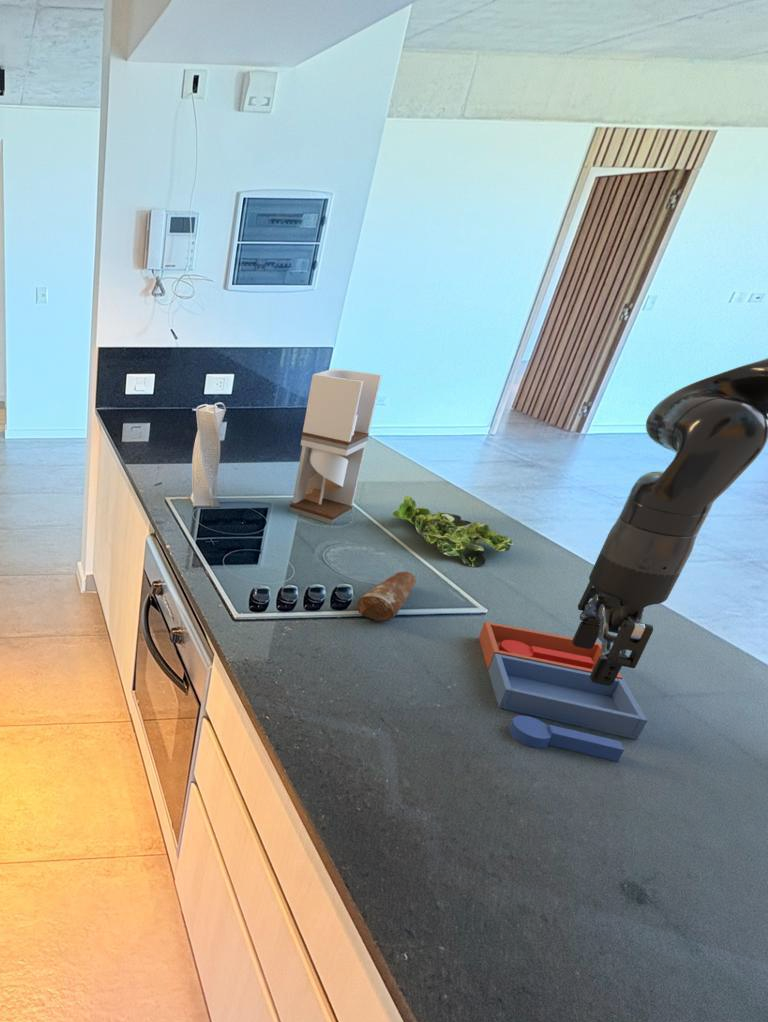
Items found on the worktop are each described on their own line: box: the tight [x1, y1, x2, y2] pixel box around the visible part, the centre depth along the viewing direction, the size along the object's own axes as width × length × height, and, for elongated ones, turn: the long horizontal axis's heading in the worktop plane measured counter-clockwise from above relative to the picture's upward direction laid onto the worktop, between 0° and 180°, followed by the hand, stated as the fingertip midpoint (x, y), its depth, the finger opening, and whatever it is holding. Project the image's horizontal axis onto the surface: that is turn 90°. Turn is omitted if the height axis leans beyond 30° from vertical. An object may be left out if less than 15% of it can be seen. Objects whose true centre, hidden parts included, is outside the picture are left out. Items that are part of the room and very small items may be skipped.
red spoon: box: [499, 640, 594, 669], centre depth 101 cm, size 12×5×2 cm, turn 66°
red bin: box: [478, 621, 624, 680], centre depth 101 cm, size 17×10×4 cm, turn 65°
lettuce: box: [392, 495, 515, 568], centre depth 142 cm, size 18×25×7 cm
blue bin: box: [487, 653, 649, 740], centre depth 93 cm, size 17×10×4 cm, turn 65°
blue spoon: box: [508, 715, 625, 762], centre depth 86 cm, size 12×5×2 cm, turn 65°
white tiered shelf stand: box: [288, 367, 383, 525], centre depth 151 cm, size 11×11×35 cm
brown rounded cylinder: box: [356, 571, 417, 622], centre depth 118 cm, size 6×19×6 cm, turn 133°
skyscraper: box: [188, 401, 227, 508], centre depth 159 cm, size 8×8×28 cm
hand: (590, 663), depth 82 cm, fingers open, 8 cm apart
